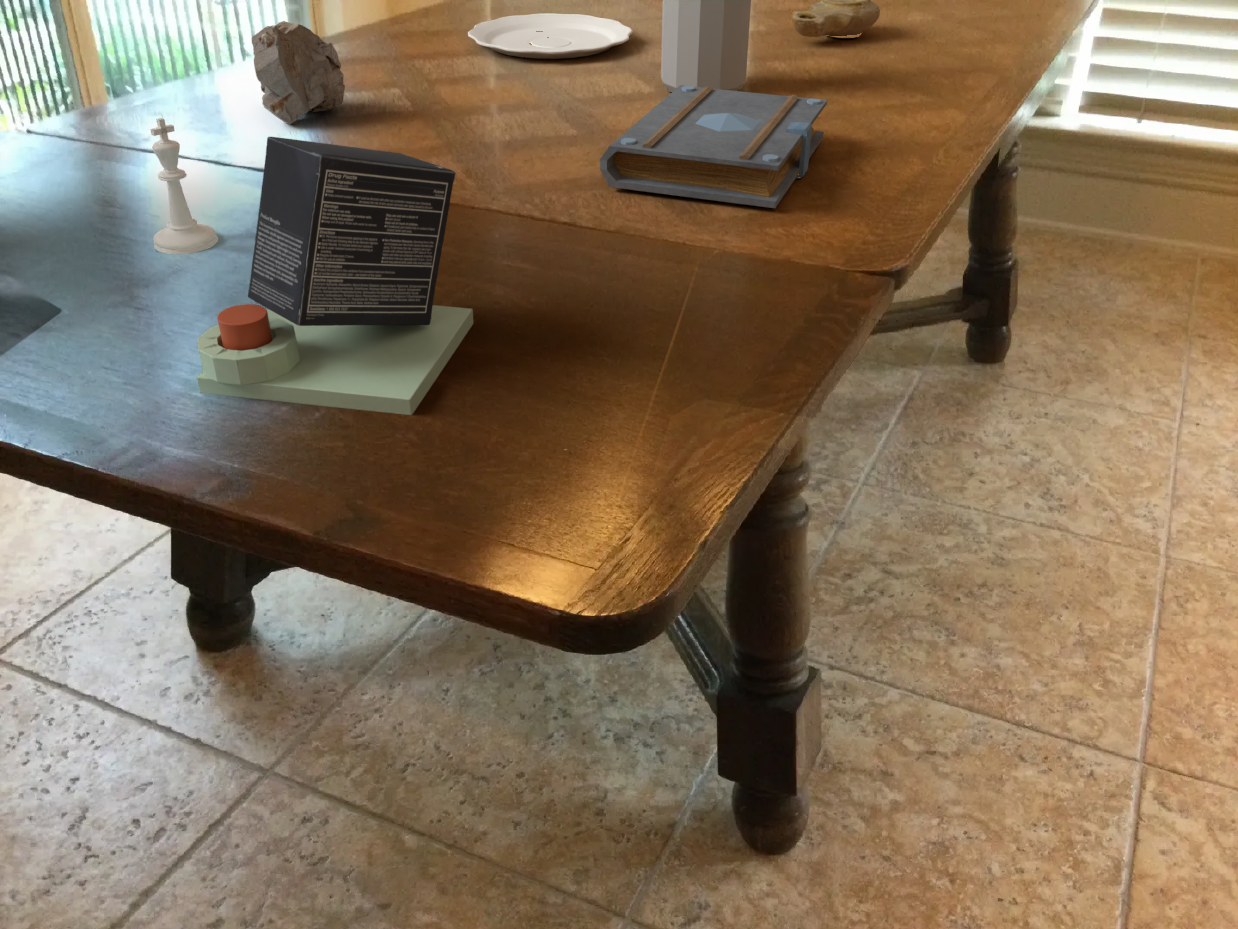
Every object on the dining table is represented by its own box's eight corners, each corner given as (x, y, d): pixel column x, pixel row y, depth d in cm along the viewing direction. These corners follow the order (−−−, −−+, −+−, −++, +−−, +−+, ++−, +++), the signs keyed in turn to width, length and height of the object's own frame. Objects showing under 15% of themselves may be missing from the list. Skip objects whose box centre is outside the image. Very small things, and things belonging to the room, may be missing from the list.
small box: (376, 298, 82) (402, 149, 79) (433, 327, 78) (463, 172, 75) (241, 295, 74) (263, 130, 71) (297, 327, 70) (323, 153, 67)
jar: (725, 74, 138) (734, -92, 128) (759, 96, 130) (771, -79, 120) (648, 81, 135) (651, -88, 125) (677, 104, 127) (683, -75, 117)
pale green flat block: (189, 396, 72) (180, 354, 71) (281, 306, 84) (275, 267, 82) (409, 419, 70) (404, 376, 69) (473, 323, 81) (471, 284, 80)
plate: (490, 23, 160) (490, 10, 159) (640, 29, 157) (640, 16, 156) (451, 60, 142) (450, 46, 141) (619, 68, 140) (619, 53, 139)
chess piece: (142, 243, 93) (113, 119, 88) (197, 226, 96) (173, 105, 91) (173, 260, 90) (146, 132, 85) (229, 242, 93) (206, 118, 88)
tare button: (214, 352, 72) (208, 322, 71) (236, 330, 75) (231, 301, 73) (259, 356, 72) (254, 326, 70) (280, 335, 74) (275, 305, 73)
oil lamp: (785, 48, 149) (789, 7, 146) (802, 24, 160) (806, -15, 158) (869, 54, 146) (874, 12, 144) (880, 29, 158) (885, -10, 155)
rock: (357, 133, 127) (329, 49, 127) (356, 86, 115) (325, -7, 116) (275, 153, 124) (247, 67, 125) (265, 106, 113) (234, 12, 114)
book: (670, 124, 121) (671, 75, 118) (827, 142, 116) (832, 91, 113) (600, 190, 104) (599, 134, 101) (779, 213, 100) (784, 156, 97)
